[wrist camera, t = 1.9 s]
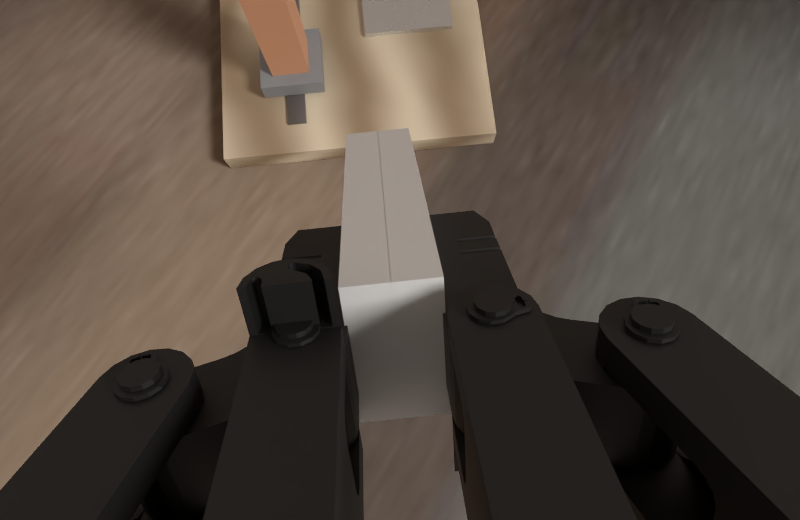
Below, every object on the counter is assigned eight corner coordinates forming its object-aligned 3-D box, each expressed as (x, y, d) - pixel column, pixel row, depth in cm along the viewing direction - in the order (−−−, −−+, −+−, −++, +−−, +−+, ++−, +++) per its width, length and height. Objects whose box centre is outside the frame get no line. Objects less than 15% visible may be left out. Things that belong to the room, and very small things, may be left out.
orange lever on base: (321, 39, 38) (285, -97, 28) (324, 91, 38) (289, -27, 27) (263, 44, 38) (204, -89, 28) (265, 97, 38) (206, -20, 27)
